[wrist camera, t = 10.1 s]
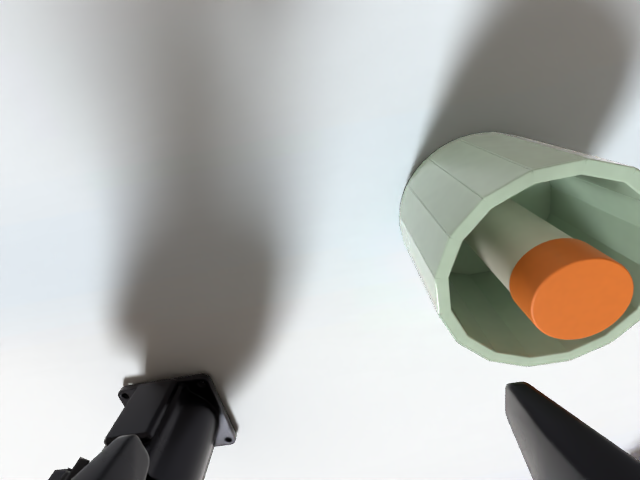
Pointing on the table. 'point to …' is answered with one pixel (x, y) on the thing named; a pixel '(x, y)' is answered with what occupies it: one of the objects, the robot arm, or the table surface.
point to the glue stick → (551, 273)
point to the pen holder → (539, 198)
